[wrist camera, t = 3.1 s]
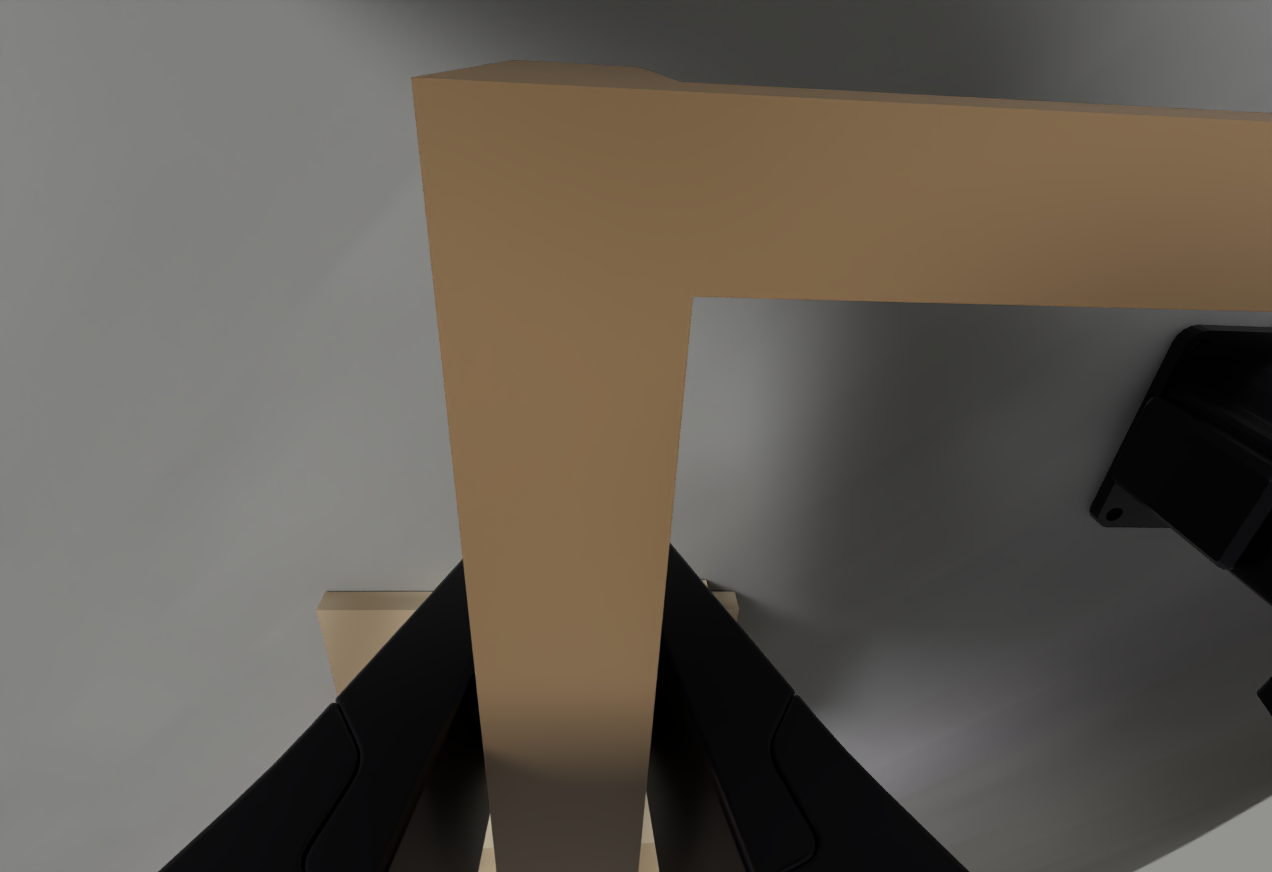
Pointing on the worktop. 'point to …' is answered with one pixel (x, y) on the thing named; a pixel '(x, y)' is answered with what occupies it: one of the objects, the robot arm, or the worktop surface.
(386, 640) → the wooden block stand
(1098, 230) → the glasses
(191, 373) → the worktop surface
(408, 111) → the worktop surface
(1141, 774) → the worktop surface
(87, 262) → the worktop surface
